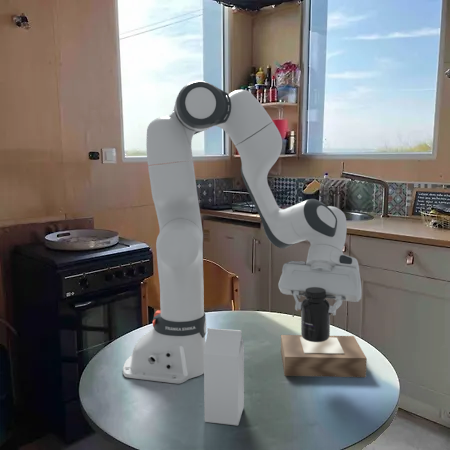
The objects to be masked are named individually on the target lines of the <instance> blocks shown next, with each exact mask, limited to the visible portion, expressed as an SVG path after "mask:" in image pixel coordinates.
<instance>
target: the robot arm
mask: <svg viewBox="0 0 450 450" xmlns="http://www.w3.org/2000/svg"><path fill="white" fill-rule="evenodd" d="M212 127H218V128H220V129H222V130H223V131H224V132H225V133H226V134H227V135H228V137H229V138H230V141H232V143H233V145H234V146H235V148H236V150H237V153H238V154H239V155H238V156H239V157H240V161H241V166H240V173H241V178H242V180H243V183H244V185H245V189H246V190H247V193H248V194H249V196H250V199H251V201H252V203H253V205H254V207H255V209H256V212H257V213H258V216H259V219H260V220H261V223H262V227H263V230H264V233H265V237H266V238H267V239H268V241H269V242H270V243H271V244H272V245H273V246H275V247H277V248H279V249H288V248H289V247H292V246H294V245H296V244H298V243H301V242H304V241H308V242H309V244H310V246H309V248H308V251H307V257H306V261H300V260H299V261H295V260H289V261H287V262H285V263H283V265H282V269H281V272H282V273H281V275H280V278H279V281H278V289H279V291H280V293H282V295H288V296H289V295H290V296H293V298H294V301H295V305H294V310H295V311H296V312H301V304H302V301H299V300H300V299H301V297H305V290H306V289H307V288H310V287H319V288H323V289H325V290H326V298H325V299H326V300H335V302H334V304H333V305H330V307H329V311H328V313H329V315H330V316H336V314H337V310H338V309H339V308H340V307H341V306H342V305H343V302H344V301H346V302H351V303H352V302H353V303H358V302H360V301H361V300H362V296H363V295H362V291H363V290H362V280H361V274H360V265H359V262H358V259H357V258H355V257H354V256H350V255H346V254H344V252H343V249H344V247H345V244H346V240H347V233H348V232H347V228H348V225H347V223H348V222H347V218H346V215H345V213H344V212H343V211H342V210H341V209H340V208H338V207H336V206H330V205H328V206H327V205H326V204H325V203H324V202H322V201H320V200H318V199H315V198H310V199H306V200H304V201H301V202H298V203H296V204H294V205H291V206H289V207H286V208H284V209H283V208H281V207H279V206H278V205H279V204H278V203H277V200H276V199H275V196H274V194H273V192H272V190H271V188H270V186H269V183H268V174H269V173H270V170H271V169H272V167H273V166H274V165H275V164H276V162H277V160H278V159H279V158H280V155H281V153H282V148H283V138H282V136H281V133H280V131H279V129H278V127H277V126H276V124H275V122H274V121H273V120H272V117H271V116H270V115H269V113H268V112H267V110H266V109H265V107H264V105H262V103H260V102H259V100H258V99H257V98H256V97H255V96H254V94H253V93H251V92H250V91H249V90H247V89H246V90H245V89H237V90H234V91H232V92H230V93H229V92H228V93H227V92H226V91H224V90H223V89H221V88H219V87H218V86H216V85H213V84H212V83H209V82H208V81H204V80H195V81H190V82H189V83H187V84H186V85H184V86H183V87H182V88H181V89H180V91H179V93H178V95H177V97H176V99H175V102H174V108H173V110H172V112H171V114H169V115H166V116H165V115H164V116H159V117H157V118H155V119H154V120H152V121H151V122H149V123H148V126H147V128H146V144H145V145H146V158H147V159H146V160H147V165H148V166H147V167H148V175H149V182H150V190H151V196H152V197H151V198H152V201H153V204H154V209H155V213H156V216H157V221H158V228H159V233H158V235H157V237H156V241H155V242H156V244H155V247H156V259H157V260H156V261H157V262H156V263H157V271H158V280H159V294H160V296H159V297H160V301H159V303H160V310H159V309H158V310H156V311H155V313H154V314H153V318H152V327H153V328H152V329H150V330H149V331H148V332H146V333H145V334H143V335H142V336H141V337H140V338H139V339H138V340H137V341H136V343H135V344H134V347H133V349H132V352H131V355H130V356H129V357H128V358H127V359H126V360H125V362H124V364H123V367H122V374H123V376H124V377H125V378H129V379H137V380H145V381H154V382H161V383H162V382H163V383H170V384H175V385H176V384H183V383H185V382H187V381H188V380H190V379H192V378H193V379H194V378H196V377H200V376H202V375H204V349H205V344H206V336H207V335H206V334H207V318H206V316H207V315H206V312H205V311H204V310H205V309H204V308H205V307H204V306H205V304H204V298H205V297H204V291H205V290H204V259H203V258H204V256H203V255H204V253H203V252H204V251H203V250H204V249H203V245H204V244H203V243H204V231H203V225H202V218H201V211H200V210H201V209H200V204H199V195H198V188H197V183H196V182H197V181H196V174H195V166H194V157H193V152H192V140H193V138H194V137H193V136H194V135H197V134H200V133H201V132H205V131H207V130H209V129H211V128H212Z"/></svg>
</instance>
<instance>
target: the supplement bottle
mask: <svg viewBox="0 0 450 450" xmlns="http://www.w3.org/2000/svg"><path fill="white" fill-rule="evenodd" d="M304 298H305V299H303V301H301V302H302V304H301V311H300V315H301V317H300V321H301V322H300V323H301V325H300V328H301V329H300V330H301V334H300V335H302V337H303V338H304V339H305V340H307V341H311V342H323V341H326V340H327V339H328V338H329V336H331V333H330V331H331V327H330V326H331V319H330V318H331V315H329V313H328V311H329V307H330V306H331V304H330V302H329V301H328V299H325V298H326V290H325V289H323V288H319V287H310V288H307V289H306V290H305V296H304Z"/></svg>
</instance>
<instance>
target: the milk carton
mask: <svg viewBox="0 0 450 450" xmlns="http://www.w3.org/2000/svg"><path fill="white" fill-rule="evenodd" d="M206 334H207V335H206V338H205V341H206V344H205V349H204V374H203V389H204V390H203V391H204V392H203V396H204V397H203V400H204V402H203V403H204V411H203V412H204V422H205V423H213V424H220V425H229V426H230V425H231V426H240V425H239V424H240V421H241V418H242V414H243V411H244V407H245V403H244V402H245V342H244V339H243V336H242V330H239V329H225V328H222V329H221V328H212V327H211V328H210V327H208V328H206Z"/></svg>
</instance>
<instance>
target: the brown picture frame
mask: <svg viewBox="0 0 450 450" xmlns="http://www.w3.org/2000/svg"><path fill="white" fill-rule="evenodd" d="M280 355H281V361H282V363H281V364H282V367H283V375H284V376H285V377H287V376H288V377H327V378H329V377H331V378H334V377H335V378H344V377H345V378H366V377H367V362H368V361H367V356H366V355H365V353H364V351H363V350H362V348H361V346H360V344H359V342H358V340H357V339H356V337H355V336H354V335H330V336H329V338H328V339H327V340H326V341H323V342H311V341H307V340H305V339H304V338H303V337H302V335H301V334H299V335H298V334H297V335H296V334H281V335H280Z"/></svg>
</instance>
